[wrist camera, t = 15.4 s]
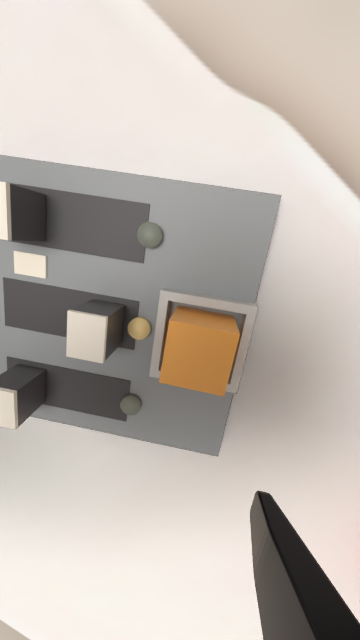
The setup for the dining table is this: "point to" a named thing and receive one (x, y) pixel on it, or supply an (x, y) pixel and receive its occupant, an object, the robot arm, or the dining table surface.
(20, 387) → the breaker
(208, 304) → the panel
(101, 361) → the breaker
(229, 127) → the dining table surface
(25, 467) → the dining table surface
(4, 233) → the block
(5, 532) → the dining table surface
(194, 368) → the orange cube
